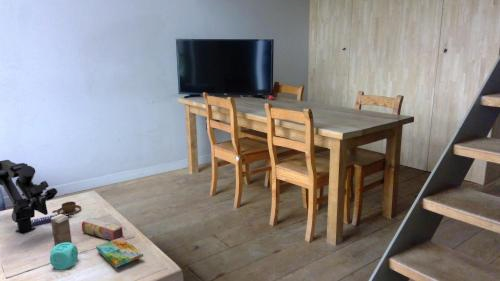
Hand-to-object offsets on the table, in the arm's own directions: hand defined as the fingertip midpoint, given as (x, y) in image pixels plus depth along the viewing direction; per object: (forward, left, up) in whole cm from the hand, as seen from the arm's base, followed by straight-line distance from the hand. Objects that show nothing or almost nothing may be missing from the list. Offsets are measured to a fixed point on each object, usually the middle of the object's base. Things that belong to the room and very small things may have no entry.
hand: (46, 214), depth 178 cm
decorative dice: (+23, -10, -14) cm, 28 cm away
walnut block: (+9, 0, -14) cm, 16 cm away
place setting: (-20, +23, -14) cm, 34 cm away
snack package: (+17, +15, -14) cm, 27 cm away
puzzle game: (+39, +4, -14) cm, 41 cm away
